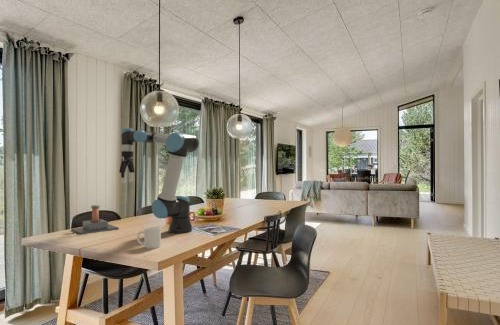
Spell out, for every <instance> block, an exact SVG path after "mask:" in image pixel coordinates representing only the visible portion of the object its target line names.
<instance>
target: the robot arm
mask: <svg viewBox="0 0 500 325" xmlns="http://www.w3.org/2000/svg"><path fill="white" fill-rule="evenodd" d="M120 137H121V145H120V148H121V162H120V167H119V171H118V172H119V173H120V183H121V184H126V183H127V182H126V174H127V173H126V170H127V168H128V171H129V172H128V183H129V182H131V183H133V182H134V173H136V172H135V166H134V159H133V157H134V143H145V144H146V143H147V144H155V145H156V144H157V145H162V146H165V149H166V150H167V154H168V156H169V157H168V162H167V166H166V171H165V175H164V179H163V183H162V188H161V191H160V193H158V195H157V199H155V200H153V202H152V203H151V211H152V213H153V215H154V216H155V217H156V218H157V219H159V220H160V219H166V218H167V219H168V218H171V220H170V222H169V226H168V233H174V234H185V233H191V232H192V231H193V226H192V222H191V218H190V213H191V212H190V206H191V205H190V203H191V202H190V197H189V196H186V195H185V196H184V195H176V194H177V189H178V185H179V180H180V176H181V171H182V167H183V163H184V160H185V159H186V158H188V153H189V154H190V153H194V152H196V151H197V150H198V148H199V147H200V140H199V139H198V137H197V136H196V135H194V134H191V133H184V132H173V133H172V132H171V133H170V134H167V133H159V132H152V131H151V132H150V131H144V130H140V129H139V130H134V129H133V128H129V127H127V128H122V129H121V136H120Z"/></svg>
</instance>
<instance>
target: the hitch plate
mask: <svg viewBox="0 0 500 325" xmlns="http://www.w3.org/2000/svg"><path fill="white" fill-rule="evenodd" d="M70 230H71V231H72V232H73V233H76V234H78V235H80V236H81V235H87V234H94V233H101V232H107V231H115V230H119V227H118V226H115V225H113V224H111V223H110V224H109V221H107V220H105V219H100V218H99V222H92V219H90V220H83V221H82V227H80V226H79V227H73V228H71V229H70Z"/></svg>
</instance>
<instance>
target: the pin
mask: <svg viewBox="0 0 500 325" xmlns="http://www.w3.org/2000/svg"><path fill="white" fill-rule="evenodd" d="M90 207H91V209H92V210H91V220H92V222H99V219H100V217H99V214H100V213H99V211H100V209H99V208H100V205H98V204H97V205H96V204H95V205H93V204H92V205H91V206H90Z"/></svg>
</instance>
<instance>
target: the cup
mask: <svg viewBox="0 0 500 325" xmlns="http://www.w3.org/2000/svg"><path fill="white" fill-rule="evenodd" d="M140 234H144V241H143V242H142V241H141V240H140ZM161 238H162V227H161V226H157V225H156V226H155V225H153V226H145V227H144V230H140V231H139V232H138V233H137V235H136V241H137V244H139V245H141V246H142V245H144V248H145V249H148V250H151V249H152V250H153V249H158V248H160V247H161V245H162V242H161V241H162V239H161Z"/></svg>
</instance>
